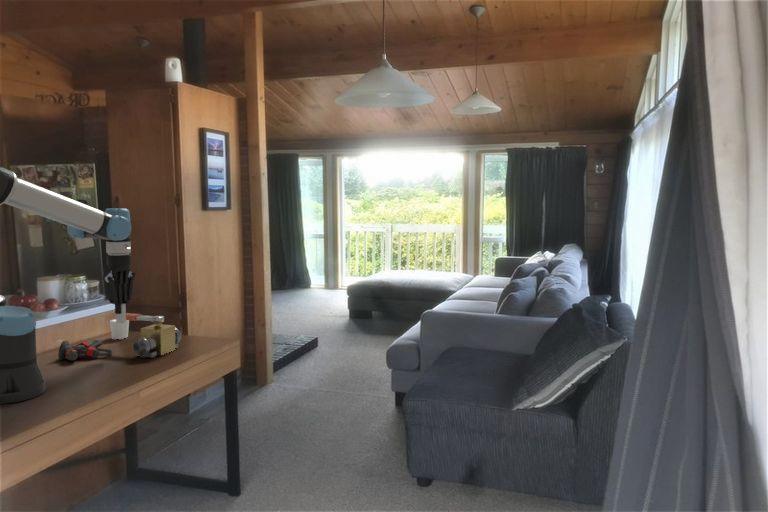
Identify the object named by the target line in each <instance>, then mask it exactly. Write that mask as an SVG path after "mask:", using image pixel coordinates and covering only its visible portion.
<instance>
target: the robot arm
mask: <svg viewBox="0 0 768 512" xmlns="http://www.w3.org/2000/svg"><path fill="white" fill-rule="evenodd" d="M4 204H5V205H8V206H10V207H12V208H13V207H14V208H15V209H16V208H17V209H20V210H22V211H25V212H29V213H31V214H34V215H38V216H40V217H43V218H46V219H48V220H51V221H54V222H57V223H60V224H62V225H66V230H67V233H68V235H69V236H70V237H71V238H72V239H82V240H83V239H94V240H95V239H96V240H105V243H106V244H105V252H106V254H107V255H106V266H108V267H109V268H108V274H107V275H106V276H105V275H104V276H103V277H102V280H103V282H104V283H105V288H106V292H107V296H108V301H109V304H112V305H114V313H115V319H116V323H126V313H127V304H129V303H130V301H131V299H132V294H133V286H134V280H135V276H136V272H133V271H131V268H130V266H131V265H132V255H131V252H132V248H131V247H132V244H131V242H132V241H131V240H132V239H131V238H132V237H131V232H132V224H131V222H132V221H131V214H130V213H131V212H130V210H129V208H128V209H127V208H124V207H123V208H114V207H113V208H108V207H107V208H106V209H105V210H104V211H102V210H100V209H98V208H95V207H92V206H90V205H88V204H86V203H83V202H80V201H78V200H76V199H72V198H70V197H68V196H65V195H62V194H60V193H58V192H55V191H52V190H50V189H47V188H45V187H42V186H40V185H37V184H34V183H32V182H29V181H28V180H24V179H21V178H19V177H17V175H16V173H15V172H14V171H13V170H9V169H8V168H5V167H2V166H0V206H2V205H4ZM36 327H37V321H36V317H35V313H34V311H33V310H32V309H30V308H29V307H25V306H17V305H8V304H7V300H6V297H5V296H4V295H1V294H0V405H3V404H12V403H17V402H23V401H27V400H31V399H34V398H37V397H38V396H40V395H42V394H43V393H45V391H46V382H45V380H44V377H43V375H42V372H41V370H40V368H39V365H38V363H37V362H38V361H37V360H38V359H37V328H36Z"/></svg>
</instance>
